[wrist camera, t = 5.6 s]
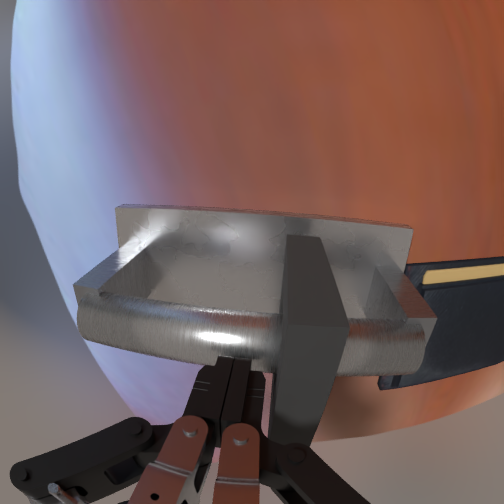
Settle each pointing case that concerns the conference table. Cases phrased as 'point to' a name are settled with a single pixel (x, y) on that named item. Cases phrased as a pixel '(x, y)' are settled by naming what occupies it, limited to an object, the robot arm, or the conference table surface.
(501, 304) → the wallet
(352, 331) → the pipe stand
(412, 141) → the conference table surface
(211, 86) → the conference table surface
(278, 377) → the dark grey wedge plate
